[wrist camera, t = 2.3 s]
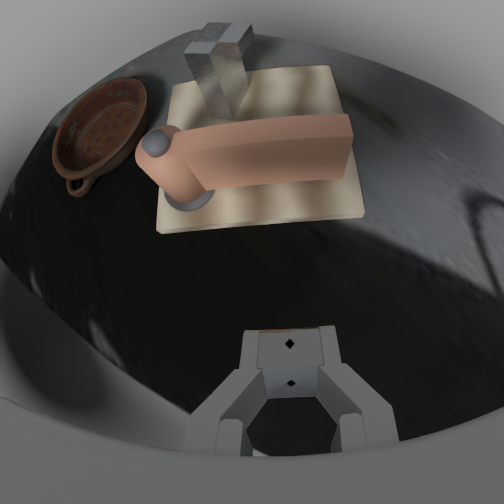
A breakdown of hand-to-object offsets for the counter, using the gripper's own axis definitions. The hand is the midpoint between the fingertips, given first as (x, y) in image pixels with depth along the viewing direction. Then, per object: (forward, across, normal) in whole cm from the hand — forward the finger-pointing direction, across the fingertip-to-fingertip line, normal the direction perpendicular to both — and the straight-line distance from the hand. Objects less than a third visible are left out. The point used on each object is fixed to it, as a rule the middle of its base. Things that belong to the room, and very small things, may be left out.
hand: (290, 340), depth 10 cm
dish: (+35, +25, -5) cm, 43 cm away
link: (+24, +3, +1) cm, 24 cm away
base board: (+30, +3, -2) cm, 30 cm away
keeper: (+33, +5, -6) cm, 34 cm away
